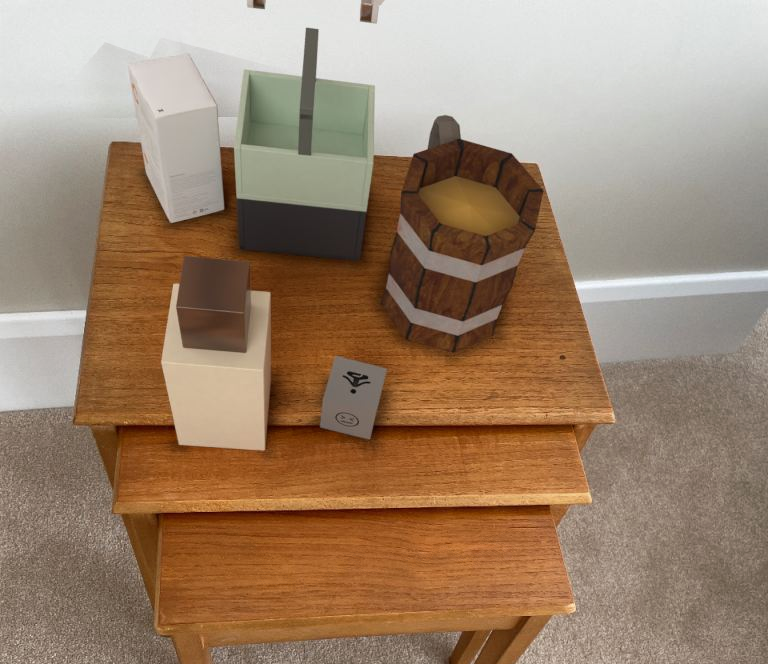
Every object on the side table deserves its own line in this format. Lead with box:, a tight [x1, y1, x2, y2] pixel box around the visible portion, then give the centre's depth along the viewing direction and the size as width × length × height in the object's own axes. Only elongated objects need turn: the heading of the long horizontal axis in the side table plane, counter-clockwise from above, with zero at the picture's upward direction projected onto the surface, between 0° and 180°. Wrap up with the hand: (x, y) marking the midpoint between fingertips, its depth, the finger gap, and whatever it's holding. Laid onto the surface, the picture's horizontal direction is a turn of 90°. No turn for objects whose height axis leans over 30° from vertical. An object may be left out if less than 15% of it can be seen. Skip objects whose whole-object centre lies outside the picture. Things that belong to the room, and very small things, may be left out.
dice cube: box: [319, 355, 388, 440], centre depth 75 cm, size 5×5×5 cm
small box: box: [127, 53, 225, 224], centre depth 80 cm, size 8×6×13 cm
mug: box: [380, 114, 544, 353], centre depth 79 cm, size 20×14×15 cm
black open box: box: [236, 197, 368, 262], centre depth 84 cm, size 13×11×7 cm
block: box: [176, 255, 252, 353], centre depth 61 cm, size 5×5×5 cm
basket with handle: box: [233, 27, 376, 212], centre depth 76 cm, size 13×11×11 cm
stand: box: [160, 282, 272, 452], centre depth 69 cm, size 8×8×13 cm
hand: (312, 11), depth 66 cm, fingers open, 8 cm apart
